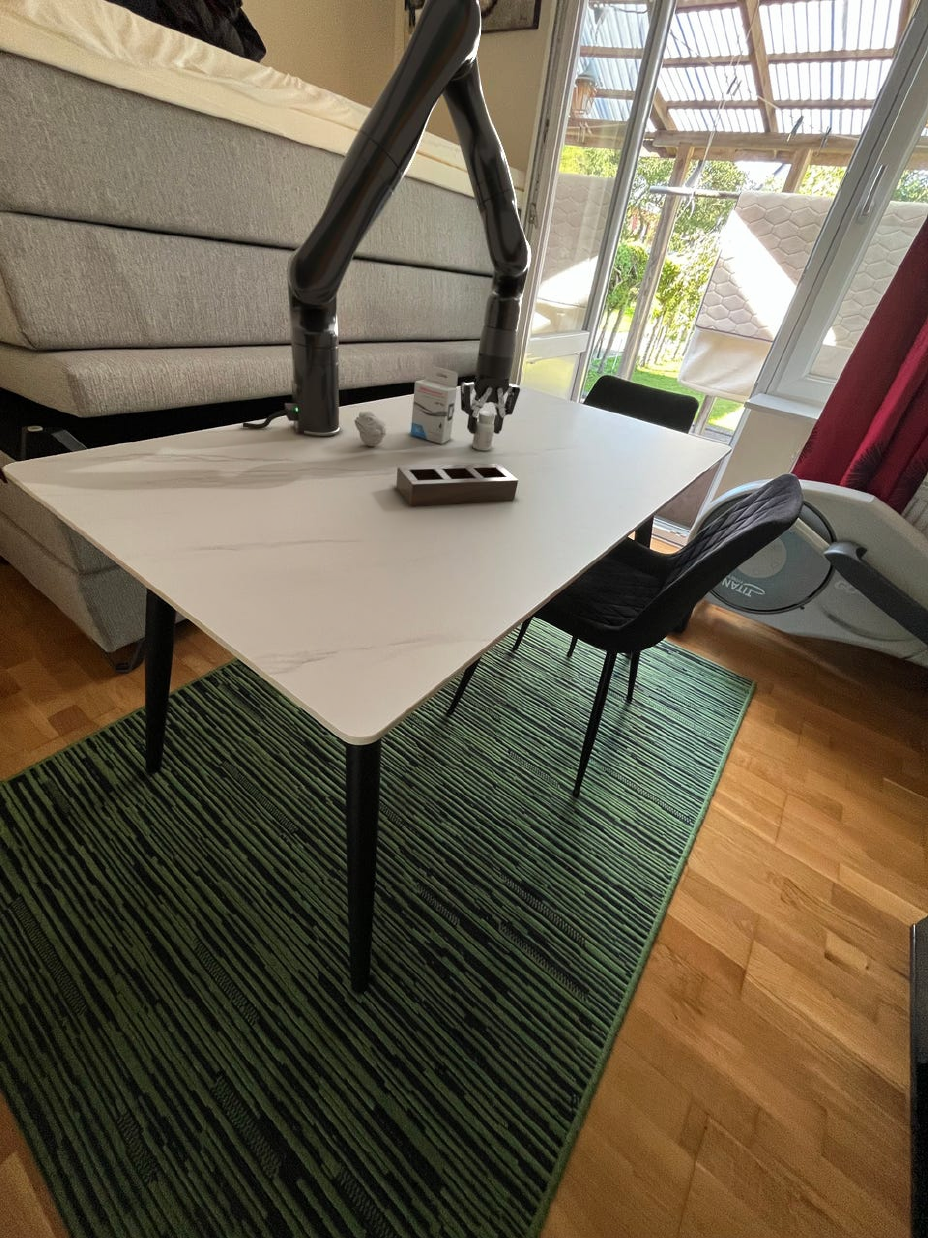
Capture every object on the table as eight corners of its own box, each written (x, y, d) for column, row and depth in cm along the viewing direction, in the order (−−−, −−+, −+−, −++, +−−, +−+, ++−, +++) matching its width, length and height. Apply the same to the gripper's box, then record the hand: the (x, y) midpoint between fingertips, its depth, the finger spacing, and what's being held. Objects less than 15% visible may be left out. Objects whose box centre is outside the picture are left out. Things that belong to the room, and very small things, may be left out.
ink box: (409, 435, 120) (414, 366, 111) (419, 430, 124) (425, 363, 115) (442, 444, 118) (449, 375, 109) (451, 439, 121) (459, 372, 113)
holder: (514, 500, 98) (518, 480, 95) (410, 506, 89) (412, 484, 87) (495, 483, 103) (498, 463, 101) (396, 487, 95) (397, 466, 92)
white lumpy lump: (348, 442, 110) (348, 408, 106) (375, 439, 114) (376, 406, 110) (363, 452, 107) (364, 417, 103) (391, 448, 111) (393, 415, 107)
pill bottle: (491, 446, 122) (496, 412, 117) (490, 452, 118) (495, 417, 114) (472, 443, 122) (477, 409, 117) (471, 449, 118) (476, 414, 114)
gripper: (517, 349, 114) (503, 427, 123) (458, 345, 108) (448, 427, 118) (534, 357, 108) (518, 438, 118) (473, 353, 102) (462, 438, 112)
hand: (483, 432), depth 118 cm, fingers open, 5 cm apart
